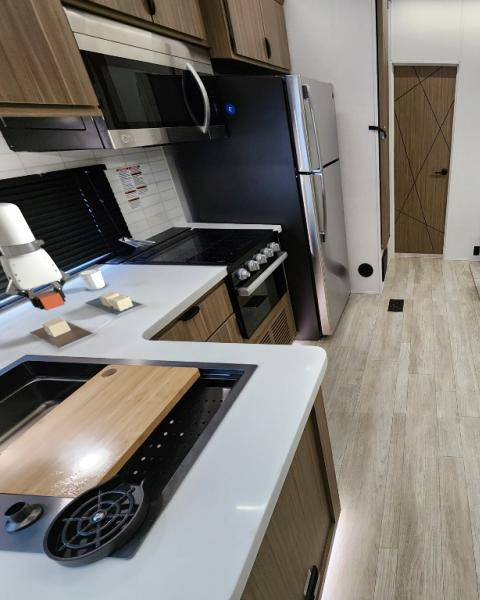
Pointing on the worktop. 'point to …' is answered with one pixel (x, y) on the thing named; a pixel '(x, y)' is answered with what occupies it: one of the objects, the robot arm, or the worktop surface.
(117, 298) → the back tile
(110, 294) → the back tile
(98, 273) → the white cup
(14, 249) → the robot arm
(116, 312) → the grey flat plate
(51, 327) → the front cream tile
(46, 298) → the orange cube
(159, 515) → the worktop surface
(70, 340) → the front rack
